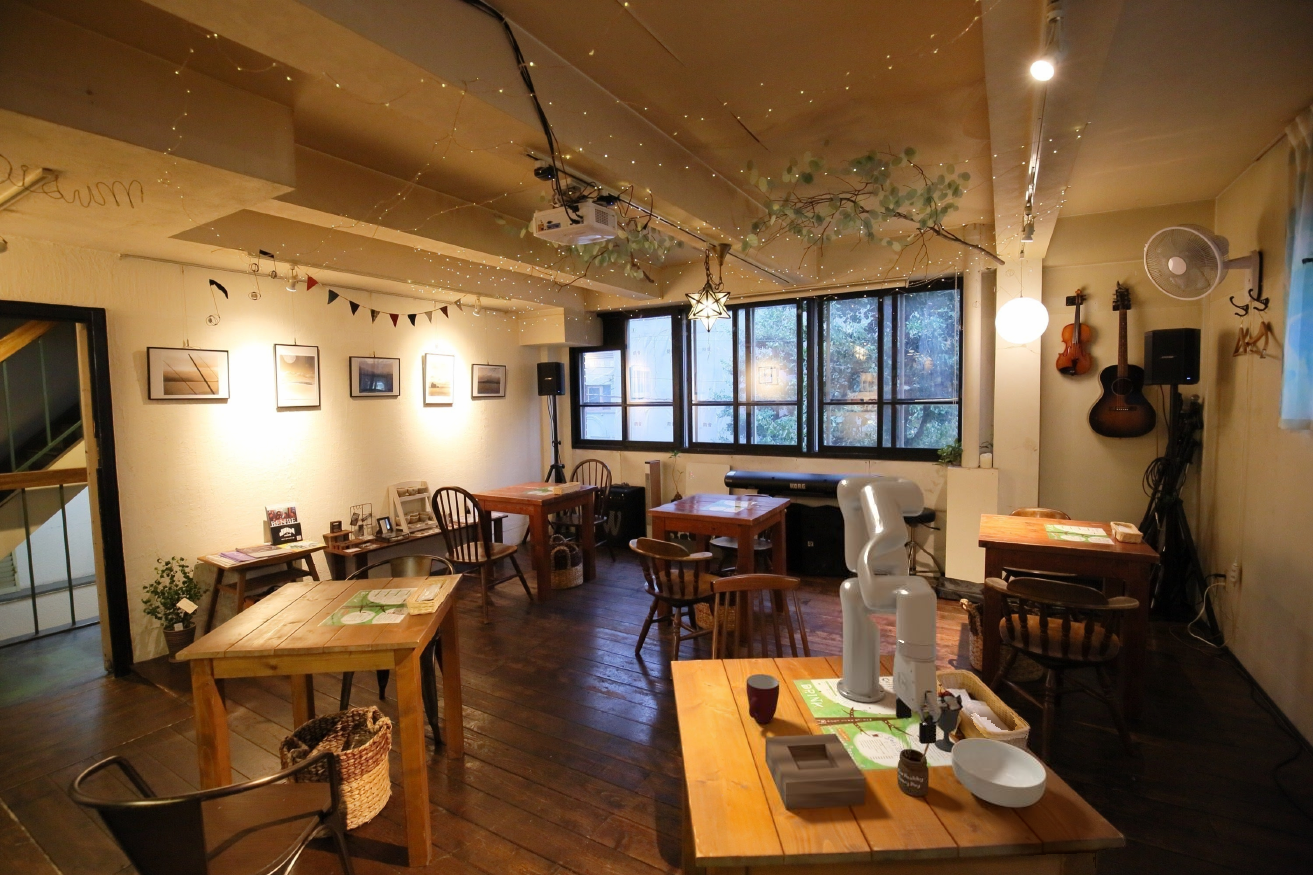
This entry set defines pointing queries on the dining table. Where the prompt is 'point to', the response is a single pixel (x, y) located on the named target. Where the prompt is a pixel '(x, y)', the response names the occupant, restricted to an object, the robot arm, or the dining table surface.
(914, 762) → the utensil holder
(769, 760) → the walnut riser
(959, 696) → the sundae
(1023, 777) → the cereal bowl
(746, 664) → the dining table surface
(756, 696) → the mug
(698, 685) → the dining table surface
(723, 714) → the dining table surface
